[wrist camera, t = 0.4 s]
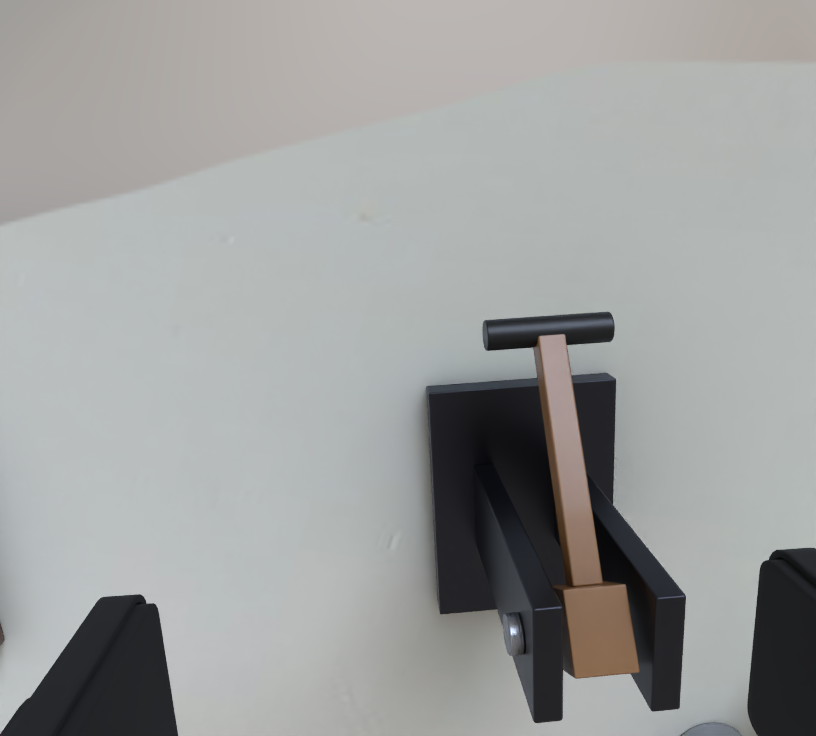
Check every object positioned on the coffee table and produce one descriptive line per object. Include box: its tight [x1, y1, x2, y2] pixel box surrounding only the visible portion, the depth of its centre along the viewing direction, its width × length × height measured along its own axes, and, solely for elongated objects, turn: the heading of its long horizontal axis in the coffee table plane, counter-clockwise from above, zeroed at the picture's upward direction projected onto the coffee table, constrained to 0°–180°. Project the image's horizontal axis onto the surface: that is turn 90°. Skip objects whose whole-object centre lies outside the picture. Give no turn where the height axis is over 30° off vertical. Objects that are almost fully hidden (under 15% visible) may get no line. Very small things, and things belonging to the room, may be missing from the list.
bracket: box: [426, 373, 686, 723], centre depth 28 cm, size 12×9×13 cm
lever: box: [483, 312, 640, 679], centre depth 25 cm, size 13×5×2 cm, turn 3°
